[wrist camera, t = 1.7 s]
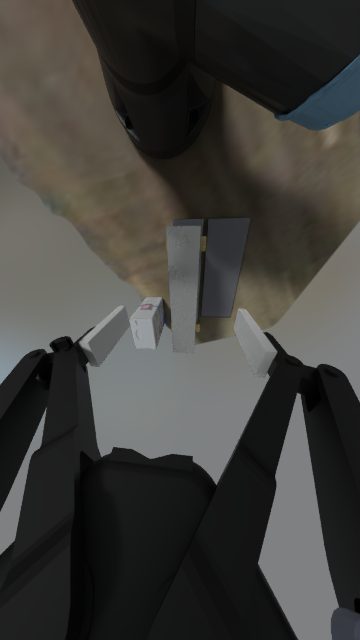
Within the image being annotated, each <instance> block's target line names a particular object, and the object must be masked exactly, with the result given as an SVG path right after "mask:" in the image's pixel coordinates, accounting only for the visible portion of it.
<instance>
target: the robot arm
mask: <svg viewBox="0 0 360 640" xmlns="http://www.w3.org/2000/svg"><path fill="white" fill-rule="evenodd" d="M72 1H73V3H74V5H75V7H76V9H77V11H78V13H79V15H80V17H81V19H82V21H83V23H84V25H85V27H86V29H87V31H88V32H89V34H90V36H91V38H92V40H93V42H94V44H95V46H96V48H97V52H98V56H99V60H100V63H101V67H102V71H103V75H104V79H105V83H106V87H107V90H108V94H109V97H110V100H111V102H112V105H113V107H114V110H115V112H116V114H117V116H118V118H119V120H120V122H121V124H122V125H123V127H124V129H125V130H126V132H127V133H128V135H129V136H130V138H131V139H132V141H133V142H134V143H135V144H136V145H137V146H138V147H139V148H140V149H141V150H142V151H143V152H145V153H146V154H148V155H150V156H152V157H155V158H159V159H168V158H172V157H175V156H177V155H179V154H181V153H182V152H184V151H185V150H186V149H187V148H188V147H189V146H190V145H191V144H192V143H193V142H194V141H195V139H196V138H197V136H198V135H199V133H200V131H201V129H202V128H203V125H204V123H205V121H206V119H207V116H208V113H209V110H210V107H211V103H212V99H213V94H214V89H215V82H216V79H218V80H219V81H221V82H223V83H224V84H226V85H228V86H229V87H231V88H233V89H234V90H236V91H238V92H239V93H241V94H243V95H244V96H246V97H248V98H249V99H251V100H253V101H254V102H256V103H258V104H259V105H261V106H263V107H264V108H266V109H267V110H269V111H271V112H272V113H274V116H275V118H276V119H277V120H280V121H285V120H290V121H292V122H294V123H297V124H299V125H301V126H303V127H305V128H307V129H310V130H322V129H326V128H328V127H330V126H332V125H334V124H336V123H338V122H339V121H343V120H345V119H347V118H349V117H350V116H352V115H353V114H355V113H356V112H358V111H359V110H360V0H72ZM129 326H130V323H129V319H128V315H127V311H126V307H125V306H118V307H117V308H116V309H115V310H114V311H113V312H112V313H111V314H109V315H108V316H107V317H106V318H105V319H104V320H103V321H102V322H100V323H99V324H98V325H97V326H95V327H93V328H91V329H90V330H88V331H87V332H86V333H85V334H84V335H83V336H82V337H80V338H79V339H78V340H77V341H76V342H75V343H73V341H72V340H71V338H70V337H68V336H65V337H60V338H58V339H56V340H54V341H52V342H51V343H50V347H51V348H52V350H53V351H54V352H52V353H47V352H46V351H45V350H44V349H38V350H34V351H32V352H30V353H28V354H26V355H25V356H24V357H23V358H22V359H21V360H20V362H19V363H18V364H17V365H16V366H15V368H14V369H13V370H12V371H11V373H10V374H9V375H8V376H7V377H6V379H5V380H4V381H3V382H2V383H1V385H0V511H1V509H2V507H3V505H4V503H5V501H6V498H7V496H8V494H9V492H10V489H11V487H12V485H13V483H14V480H15V478H16V476H17V473H18V471H19V469H20V467H21V464H22V462H23V460H24V457H25V455H26V453H27V451H28V448H29V446H30V443H31V441H32V439H33V436H34V435H35V432H36V430H37V428H38V425H39V423H40V421H41V418H42V416H43V414H44V412H45V409H46V407H47V410H46V417H45V424H44V431H43V437H42V444H41V447H40V449H38V450H36V451H35V452H34V453H33V455H32V456H31V460H30V463H29V469H28V474H27V479H26V485H25V490H24V495H23V501H22V506H21V511H20V517H19V522H18V527H17V533H16V538H15V541H14V542H13V543H12V544H11V545H10V546H9V547H8V548H7V549H6V550H5V551H4V552H3V553H2V554H1V555H0V640H298V639H297V637H296V635H295V633H294V631H293V629H292V627H291V626H290V623H289V622H288V620H287V618H286V616H285V614H284V612H283V610H282V608H281V606H280V605H279V603H278V601H277V599H276V597H275V595H274V593H273V591H272V589H271V588H270V586H269V584H268V582H267V580H266V578H265V576H264V574H263V573H262V571H261V569H260V567H259V565H258V561H259V557H260V553H261V549H262V545H263V541H264V537H265V532H266V528H267V524H268V520H269V516H270V512H271V508H272V504H273V500H274V496H275V491H276V479H275V474H276V470H277V466H278V462H279V458H280V454H281V451H282V447H283V443H284V440H285V436H286V432H287V428H288V425H289V421H290V417H291V414H292V410H293V406H294V402H295V399H296V395H297V393H299V394H301V399H302V406H303V412H304V419H305V425H306V431H307V438H308V444H309V451H310V457H311V463H312V470H313V475H314V482H315V488H316V495H317V501H318V508H319V514H320V520H321V527H322V533H323V539H324V546H325V551H326V556H327V561H328V566H329V571H330V574H331V578H332V582H333V586H334V590H335V594H336V598H337V601H338V604H339V608H337V609H336V610H334V612H333V615H332V618H331V634H332V640H360V402H359V400H358V398H357V396H356V394H355V392H354V390H353V388H352V386H351V384H350V383H349V380H348V379H347V377H346V375H345V374H344V373H343V372H342V371H340V370H339V369H337V368H335V367H333V366H330V365H327V364H320V365H318V367H317V368H314V367H310V366H306V365H303V363H302V362H301V361H300V360H299V359H297V358H295V357H293V356H290V355H288V354H287V353H286V352H285V350H284V349H283V348H282V347H281V345H280V344H279V343H278V342H277V341H276V339H275V338H274V337H273V336H272V335H271V334H269V333H268V332H262V330H261V329H260V328H259V326H258V325H257V324H256V322H255V321H254V320H253V318H252V317H251V316H250V314H249V313H248V312H247V310H246V309H238V312H237V317H236V321H235V325H234V331H235V333H236V336H237V337H238V340H239V342H240V344H241V347H242V349H243V351H244V353H245V356H246V358H247V360H248V362H249V365H250V367H251V369H252V371H253V374H254V376H255V377H265V376H266V374H267V372H268V374H269V376H270V378H269V380H268V382H267V384H266V386H265V388H264V390H263V392H262V394H261V396H260V399H259V400H258V402H257V404H256V406H255V409H254V410H253V413H252V415H251V417H250V419H249V421H248V423H247V425H246V427H245V429H244V431H243V433H242V435H241V437H240V439H239V441H238V443H237V445H236V447H235V449H234V451H233V454H232V456H231V457H230V459H229V461H228V464H227V465H226V467H225V470H224V471H223V473H222V475H221V477H220V479H219V482H218V483H217V485H216V484H215V482H214V481H213V479H212V478H211V477H210V475H209V474H208V473H207V472H206V471H205V470H204V469H203V468H202V467H201V466H199V465H198V464H196V463H194V462H193V456H186V455H177V454H170V455H166V456H162V457H158V458H154V459H149V458H147V457H145V456H143V455H142V454H140V453H138V452H136V451H134V450H133V449H125V448H117V447H113V449H112V452H111V453H110V454H108V455H105V456H103V457H101V455H100V452H99V450H98V447H97V440H96V432H95V425H94V417H93V409H92V401H91V393H90V386H89V378H88V370H87V366H86V364H87V363H88V362H89V363H90V365H91V366H96V367H99V366H100V365H101V364H102V362H103V361H104V360H105V358H106V357H107V355H108V354H109V353H110V352H111V350H112V349H113V348H114V346H115V345H116V344H117V342H118V341H119V340H120V338H121V336H122V335H123V334H124V333H125V331H126V330H127V329H128V327H129Z"/></svg>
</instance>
